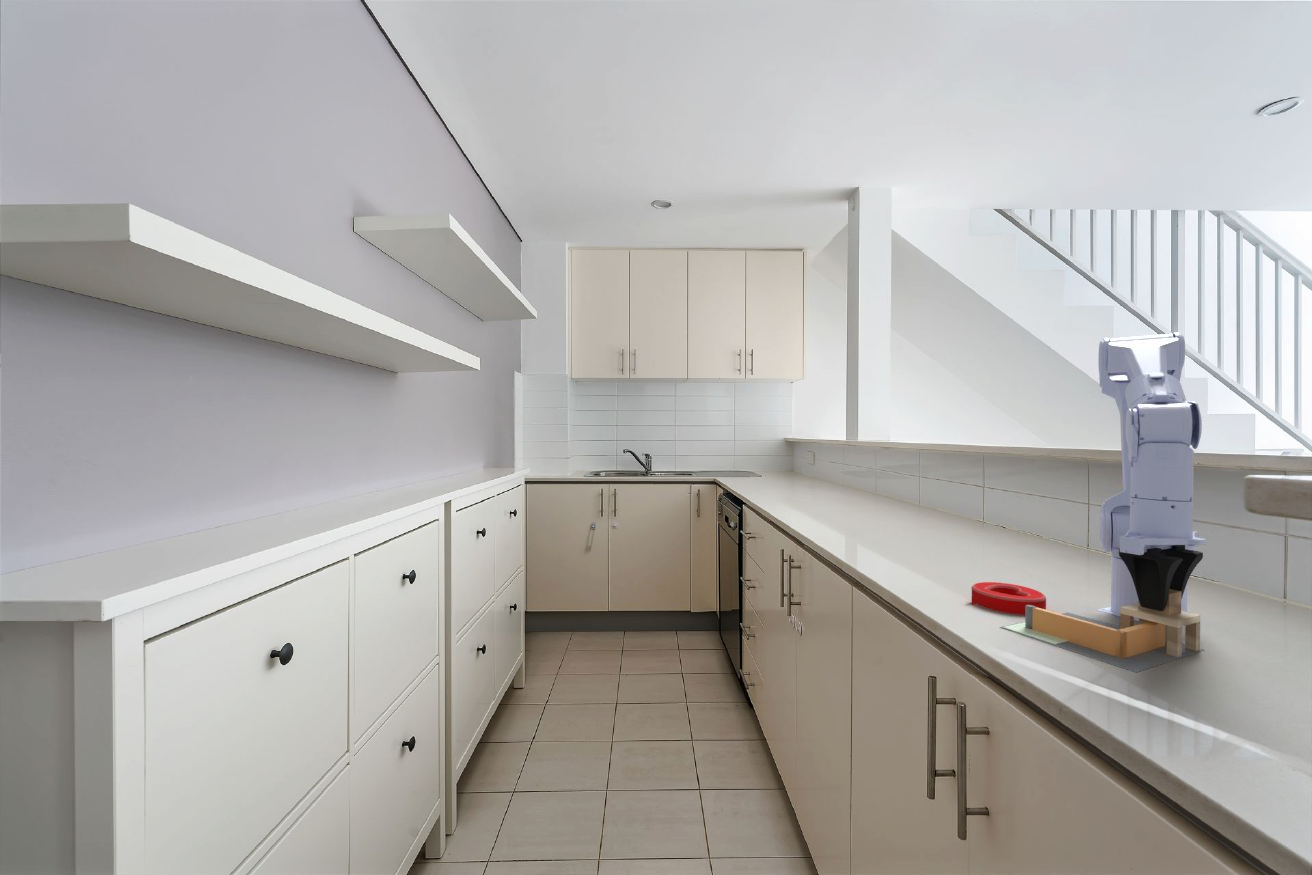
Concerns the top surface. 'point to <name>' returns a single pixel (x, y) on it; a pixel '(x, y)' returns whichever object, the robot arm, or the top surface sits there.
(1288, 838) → the top surface
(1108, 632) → the rail
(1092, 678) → the top surface
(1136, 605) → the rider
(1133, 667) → the mat
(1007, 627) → the end pad
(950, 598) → the top surface
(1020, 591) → the decorative ornament
